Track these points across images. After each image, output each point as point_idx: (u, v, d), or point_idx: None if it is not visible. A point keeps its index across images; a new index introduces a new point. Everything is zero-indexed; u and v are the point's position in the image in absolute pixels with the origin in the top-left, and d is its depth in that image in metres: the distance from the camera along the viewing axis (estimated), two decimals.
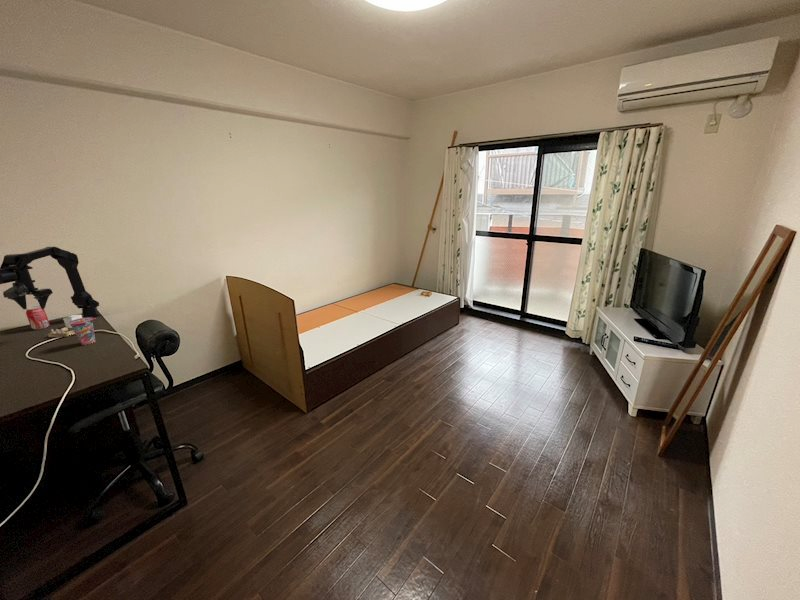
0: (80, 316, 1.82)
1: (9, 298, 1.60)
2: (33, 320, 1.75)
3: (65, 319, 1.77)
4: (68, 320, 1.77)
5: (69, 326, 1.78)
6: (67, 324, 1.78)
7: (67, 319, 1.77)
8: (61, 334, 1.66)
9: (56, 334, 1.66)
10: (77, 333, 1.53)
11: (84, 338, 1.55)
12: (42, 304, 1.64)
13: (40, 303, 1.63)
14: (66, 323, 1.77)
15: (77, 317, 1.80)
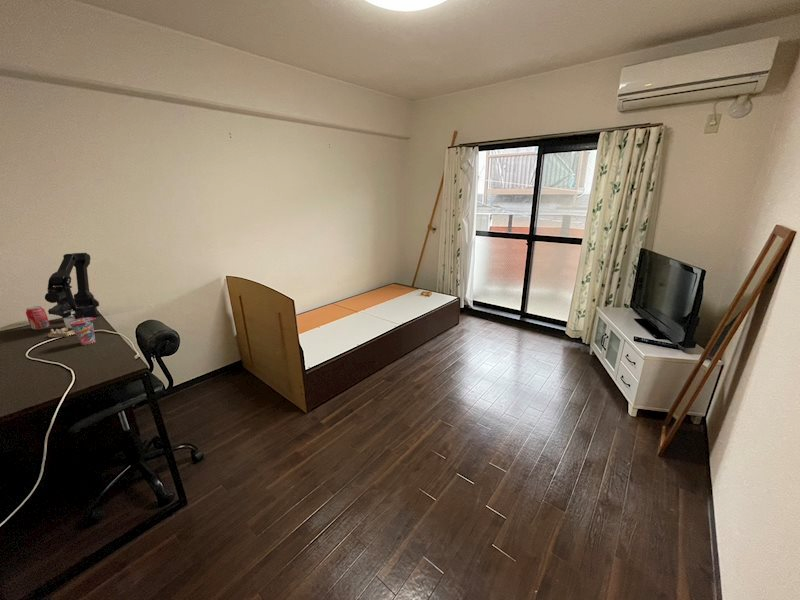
0: None
1: None
2: (33, 320, 1.75)
3: (65, 319, 1.77)
4: (68, 320, 1.77)
5: (69, 326, 1.78)
6: (67, 324, 1.77)
7: (67, 319, 1.77)
8: (61, 334, 1.66)
9: (56, 334, 1.66)
10: (77, 333, 1.53)
11: (84, 338, 1.55)
12: None
13: None
14: (66, 323, 1.77)
15: None
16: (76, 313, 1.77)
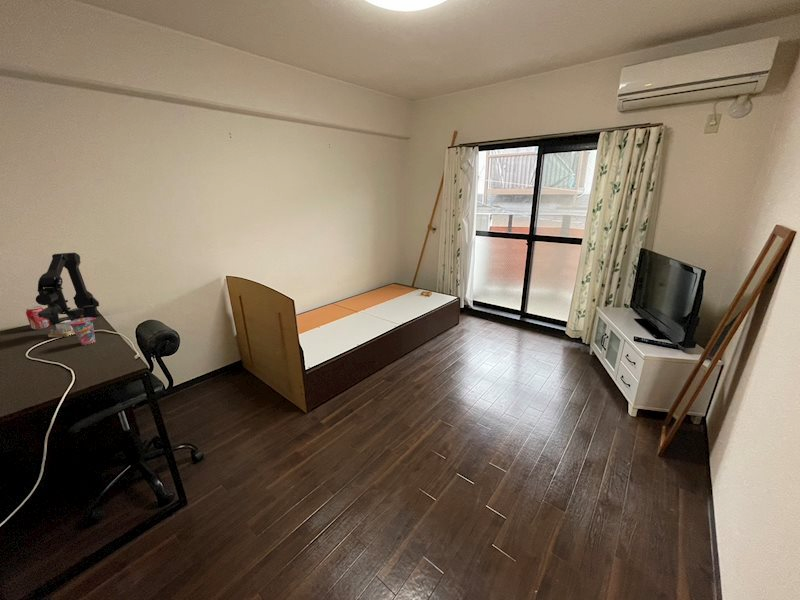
0: None
1: (44, 318, 1.66)
2: (33, 320, 1.75)
3: (57, 325, 1.68)
4: (60, 327, 1.68)
5: None
6: (59, 330, 1.69)
7: (59, 325, 1.68)
8: (61, 334, 1.66)
9: (56, 334, 1.66)
10: (77, 333, 1.53)
11: (84, 338, 1.55)
12: None
13: None
14: (58, 329, 1.68)
15: None
16: (72, 316, 1.68)
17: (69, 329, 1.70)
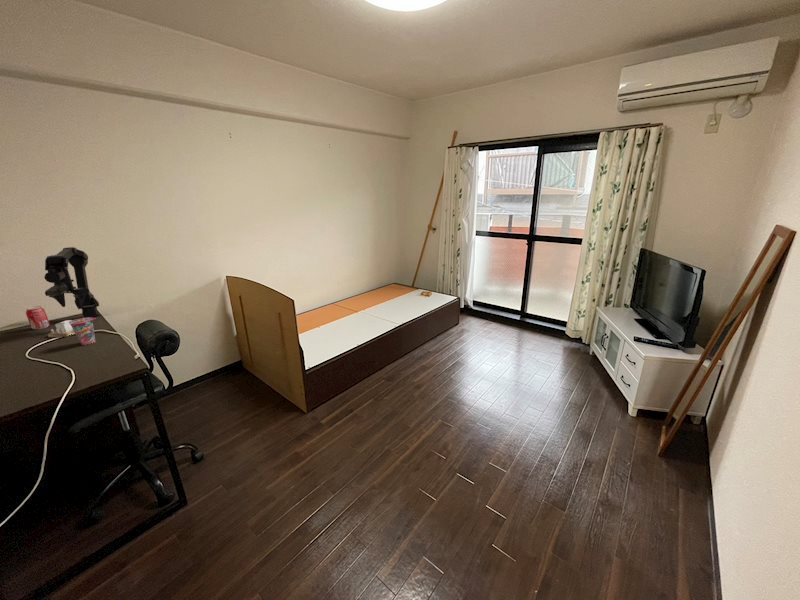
0: None
1: (50, 296, 1.72)
2: (33, 320, 1.75)
3: (57, 325, 1.68)
4: (60, 327, 1.68)
5: None
6: (59, 330, 1.69)
7: (59, 325, 1.68)
8: (61, 334, 1.66)
9: (56, 334, 1.66)
10: (77, 333, 1.53)
11: (84, 338, 1.55)
12: (80, 302, 1.76)
13: (78, 301, 1.75)
14: (58, 329, 1.68)
15: None
16: None
17: (69, 329, 1.70)
